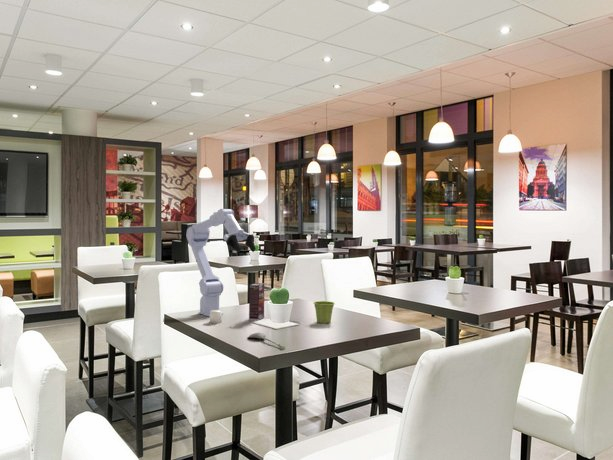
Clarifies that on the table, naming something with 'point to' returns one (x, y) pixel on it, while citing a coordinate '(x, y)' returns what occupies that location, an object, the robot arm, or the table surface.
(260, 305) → the supplement box
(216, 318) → the white small cube
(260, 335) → the soupspoon
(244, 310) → the table surface
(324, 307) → the plant pot
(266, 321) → the mat
